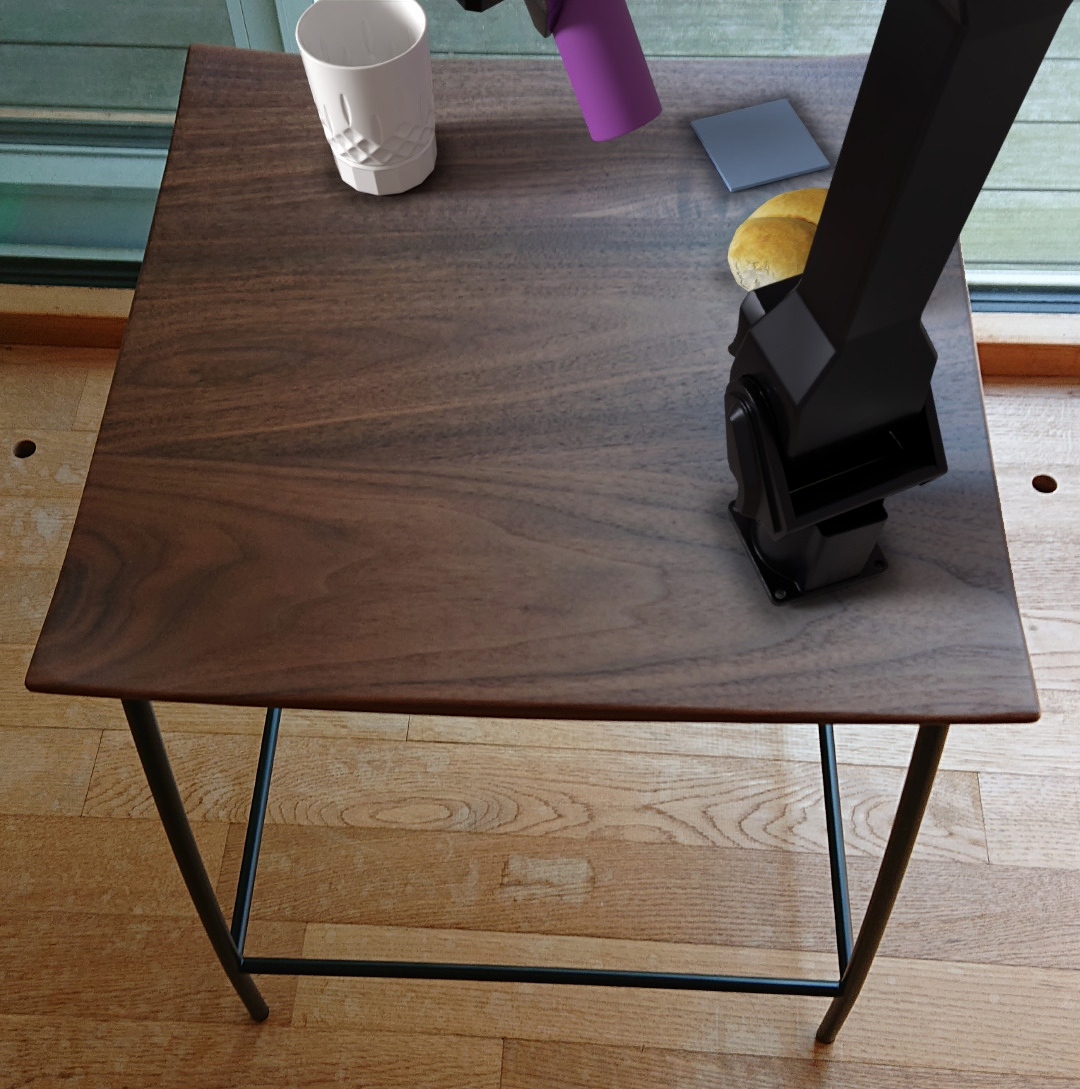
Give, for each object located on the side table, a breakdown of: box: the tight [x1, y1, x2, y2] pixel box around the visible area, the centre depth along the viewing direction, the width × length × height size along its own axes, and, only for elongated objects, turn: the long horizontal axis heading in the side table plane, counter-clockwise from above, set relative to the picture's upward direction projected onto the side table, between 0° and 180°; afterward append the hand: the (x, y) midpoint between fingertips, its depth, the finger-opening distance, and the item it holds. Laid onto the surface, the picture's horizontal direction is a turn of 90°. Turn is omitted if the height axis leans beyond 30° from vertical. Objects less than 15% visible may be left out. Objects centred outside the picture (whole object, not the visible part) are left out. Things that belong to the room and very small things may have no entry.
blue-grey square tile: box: [690, 98, 831, 193], centre depth 72 cm, size 7×7×1 cm
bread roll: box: [727, 187, 829, 293], centre depth 65 cm, size 8×9×4 cm
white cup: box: [295, 0, 438, 196], centre depth 69 cm, size 8×8×10 cm
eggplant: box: [551, 0, 663, 142], centre depth 61 cm, size 4×4×11 cm
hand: (576, 13), depth 62 cm, fingers closed on eggplant, 4 cm apart
